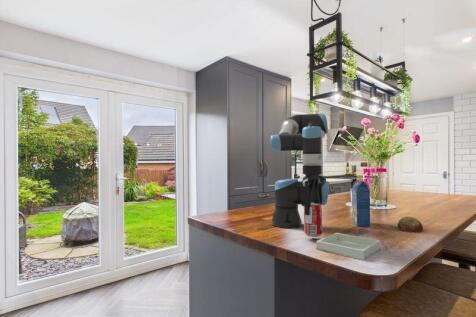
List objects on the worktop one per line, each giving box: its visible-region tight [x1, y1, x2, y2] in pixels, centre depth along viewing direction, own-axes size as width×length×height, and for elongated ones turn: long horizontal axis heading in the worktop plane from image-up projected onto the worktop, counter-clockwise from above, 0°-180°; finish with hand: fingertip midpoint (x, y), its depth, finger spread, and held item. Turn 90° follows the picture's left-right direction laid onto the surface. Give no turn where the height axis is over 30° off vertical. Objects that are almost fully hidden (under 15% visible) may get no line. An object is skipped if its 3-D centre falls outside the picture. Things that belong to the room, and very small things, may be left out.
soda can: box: [303, 202, 323, 238], centre depth 114 cm, size 7×7×13 cm
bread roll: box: [397, 216, 424, 234], centre depth 130 cm, size 10×10×8 cm
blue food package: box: [351, 174, 371, 228], centre depth 142 cm, size 6×12×25 cm, turn 168°
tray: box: [315, 232, 381, 261], centre depth 101 cm, size 17×17×3 cm
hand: (312, 221), depth 113 cm, fingers open, 5 cm apart
